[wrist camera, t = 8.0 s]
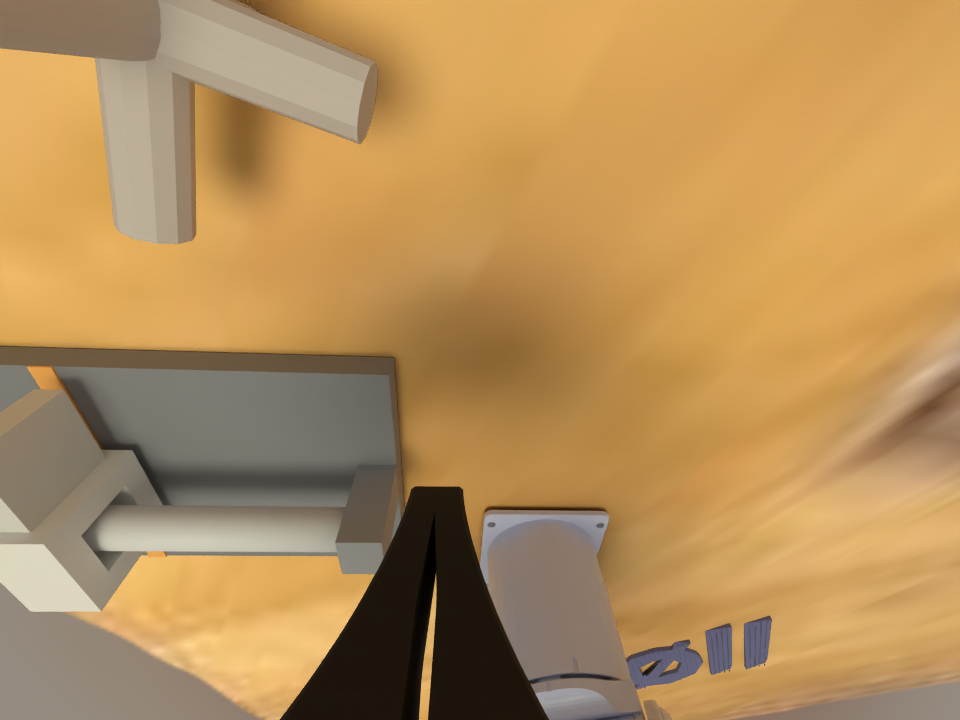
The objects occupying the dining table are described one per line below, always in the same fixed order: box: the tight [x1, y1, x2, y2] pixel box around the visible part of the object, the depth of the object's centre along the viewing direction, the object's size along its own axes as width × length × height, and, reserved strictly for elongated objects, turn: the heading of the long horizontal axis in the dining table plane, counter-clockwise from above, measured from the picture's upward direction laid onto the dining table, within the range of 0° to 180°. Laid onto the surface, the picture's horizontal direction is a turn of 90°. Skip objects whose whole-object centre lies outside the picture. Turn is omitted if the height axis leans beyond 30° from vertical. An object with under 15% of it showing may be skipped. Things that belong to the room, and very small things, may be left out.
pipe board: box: [0, 346, 405, 574], centre depth 21 cm, size 14×24×6 cm, turn 87°
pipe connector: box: [0, 0, 378, 244], centre depth 9 cm, size 10×10×10 cm
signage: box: [626, 616, 772, 690], centre depth 40 cm, size 28×1×10 cm
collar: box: [0, 389, 162, 612], centre depth 18 cm, size 9×3×5 cm, turn 177°
